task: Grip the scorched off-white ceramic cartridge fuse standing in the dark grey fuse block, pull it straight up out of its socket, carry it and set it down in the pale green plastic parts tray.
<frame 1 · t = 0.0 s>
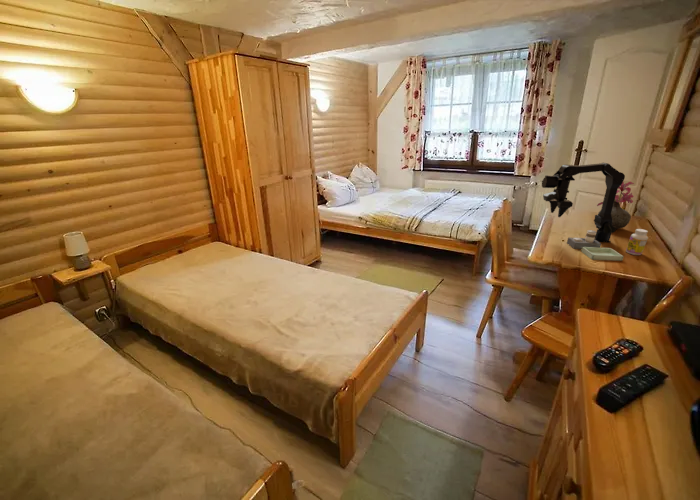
hand: (555, 214, 185), 15 cm above the table, fingers open, 9 cm apart
supplement bottle: (633, 253, 169), on the table
parts tray: (600, 255, 166), on the table
vase: (608, 228, 206), on the table
blown fuse: (587, 246, 178), resting in fuse block
fuse block: (581, 246, 179), on the table
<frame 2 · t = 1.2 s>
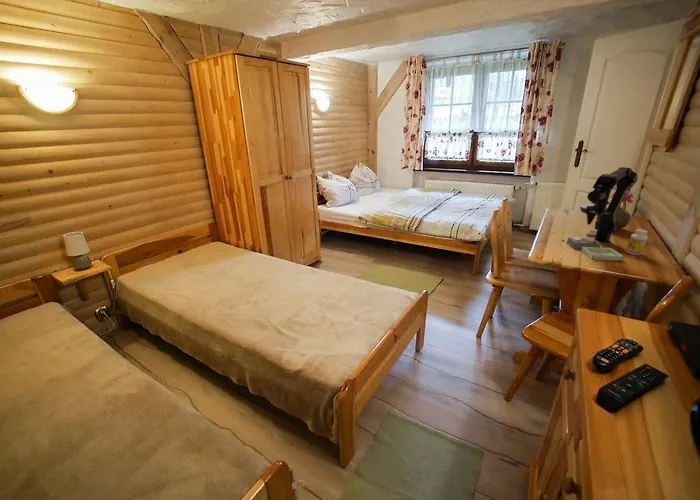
hand: (593, 227, 174), 11 cm above the table, fingers open, 9 cm apart
nothing on the table moved.
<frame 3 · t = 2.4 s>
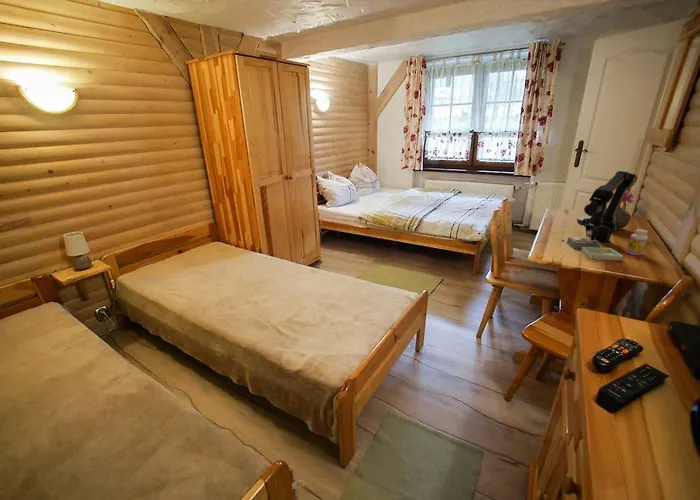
hand: (589, 239, 176), 5 cm above the table, fingers closed on blown fuse, 4 cm apart
blown fuse: (587, 246, 178), resting in fuse block, touching gripper
everything else where it was.
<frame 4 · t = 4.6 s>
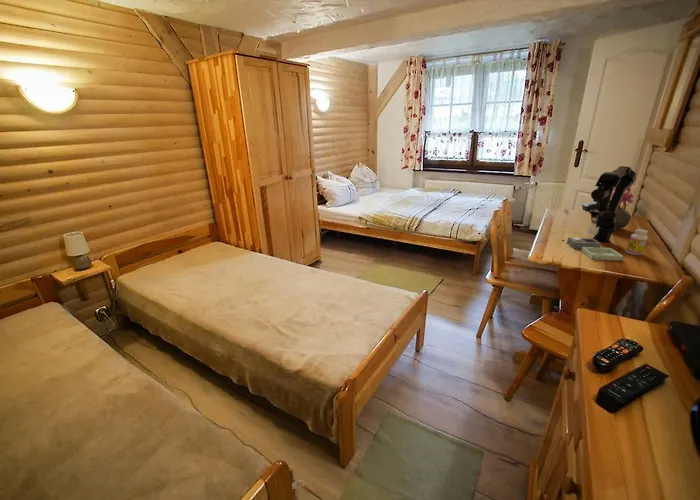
hand: (595, 225, 172), 13 cm above the table, fingers closed on blown fuse, 4 cm apart
blown fuse: (592, 233, 174), point 8 cm above the table, touching gripper
everything else where it was.
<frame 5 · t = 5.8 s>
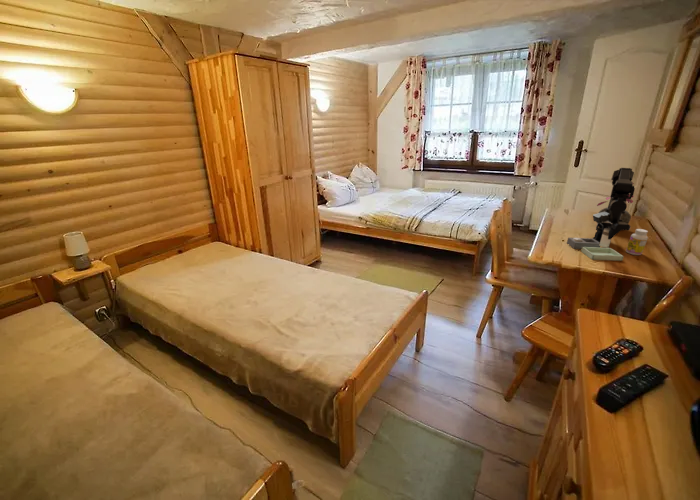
hand: (606, 237, 162), 10 cm above the table, fingers closed on blown fuse, 4 cm apart
blown fuse: (603, 245, 164), point 6 cm above the table, touching gripper
everything else where it was.
when the fingers open (6 cm above the table, at t = 6.7 s): blown fuse drops 1 cm, resting on parts tray.
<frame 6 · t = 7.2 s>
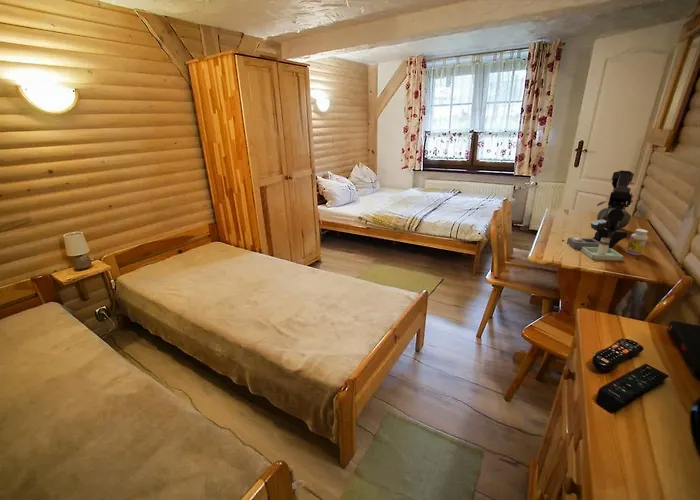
hand: (604, 244, 164), 6 cm above the table, fingers open, 9 cm apart
blown fuse: (600, 254, 166), point 1 cm above the table, touching parts tray
everything else where it was.
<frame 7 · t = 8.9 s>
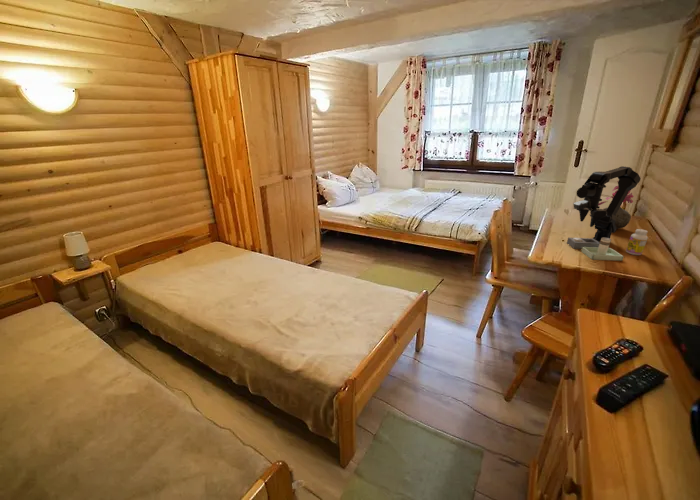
hand: (586, 223, 176), 12 cm above the table, fingers open, 9 cm apart
nothing on the table moved.
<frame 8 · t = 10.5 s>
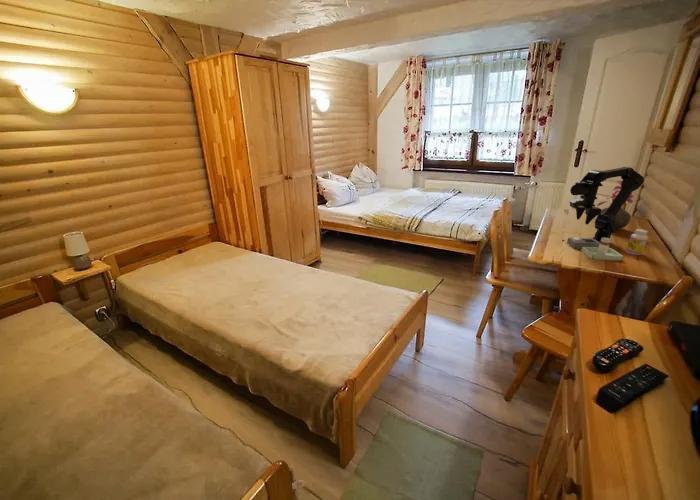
hand: (582, 221, 179), 13 cm above the table, fingers open, 9 cm apart
nothing on the table moved.
at the end: blown fuse inside the target area on the parts tray (0.1 cm from its centre), point 0.5 cm above the parts tray's base; the gripper is holding nothing; blown fuse touching parts tray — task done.
